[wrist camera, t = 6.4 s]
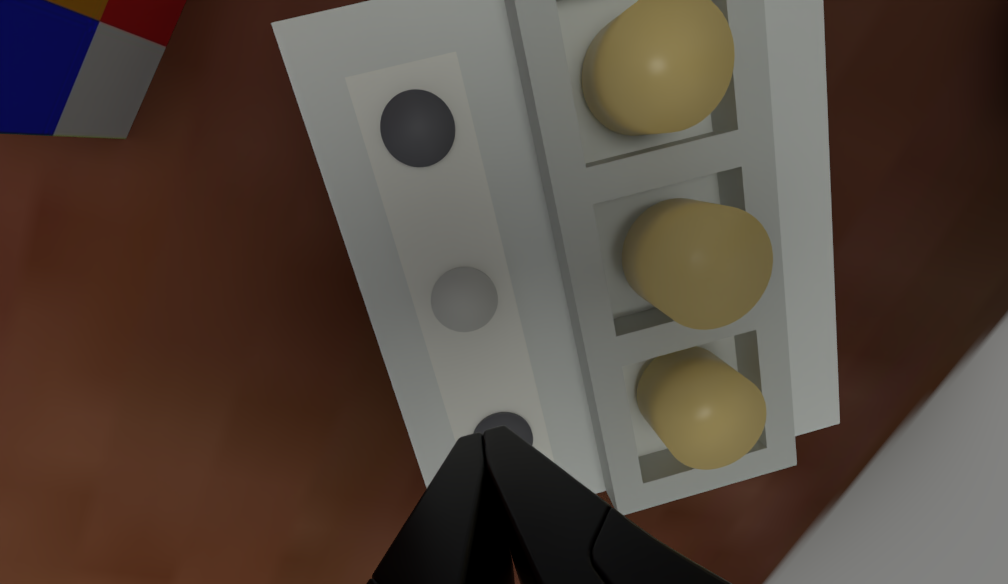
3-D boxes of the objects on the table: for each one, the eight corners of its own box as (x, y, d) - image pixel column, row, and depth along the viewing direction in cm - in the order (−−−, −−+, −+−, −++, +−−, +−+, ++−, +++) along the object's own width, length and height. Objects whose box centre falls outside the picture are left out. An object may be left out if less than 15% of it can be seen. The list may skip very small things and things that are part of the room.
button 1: (683, 1, 16) (727, -27, 14) (697, 121, 17) (740, 115, 15) (571, 27, 16) (596, 4, 14) (592, 147, 17) (618, 146, 15)
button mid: (719, 186, 17) (767, 191, 14) (730, 290, 18) (777, 311, 16) (613, 213, 17) (643, 223, 14) (630, 316, 18) (661, 343, 15)
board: (798, -88, 17) (858, -129, 15) (823, 412, 23) (869, 443, 20) (281, 30, 16) (252, 8, 14) (443, 520, 22) (443, 567, 20)
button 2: (721, 335, 20) (762, 361, 17) (731, 417, 21) (770, 453, 18) (629, 360, 19) (657, 390, 17) (643, 442, 21) (672, 481, 18)
